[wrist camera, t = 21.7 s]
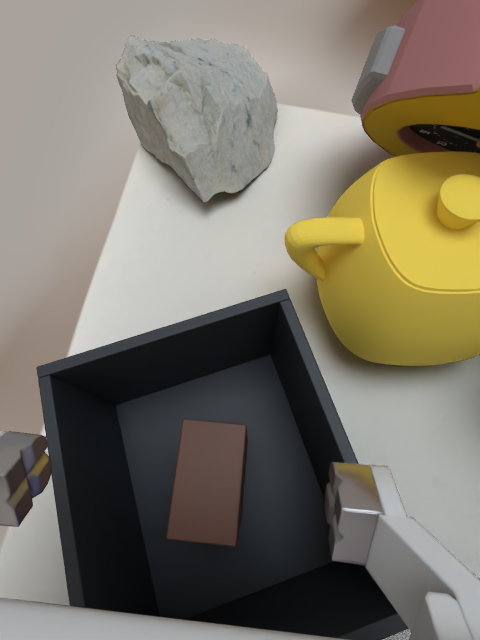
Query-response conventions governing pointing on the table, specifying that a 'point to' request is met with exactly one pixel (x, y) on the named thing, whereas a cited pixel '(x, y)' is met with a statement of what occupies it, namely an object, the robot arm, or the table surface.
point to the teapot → (401, 260)
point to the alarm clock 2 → (424, 81)
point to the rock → (200, 110)
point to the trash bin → (160, 465)
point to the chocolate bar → (209, 483)
